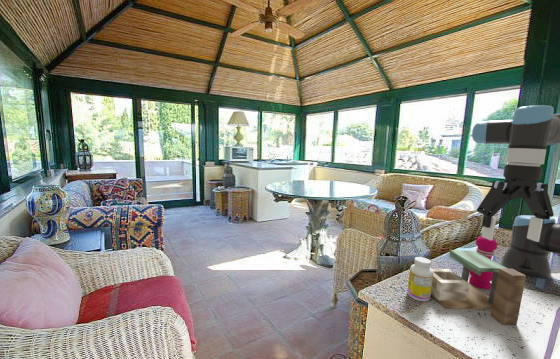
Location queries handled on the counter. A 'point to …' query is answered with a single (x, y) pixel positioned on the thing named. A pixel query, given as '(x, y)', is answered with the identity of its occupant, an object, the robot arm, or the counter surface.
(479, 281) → the pepper mill
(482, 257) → the awning station
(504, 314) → the walnut peg
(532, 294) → the counter surface
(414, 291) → the supplement bottle
